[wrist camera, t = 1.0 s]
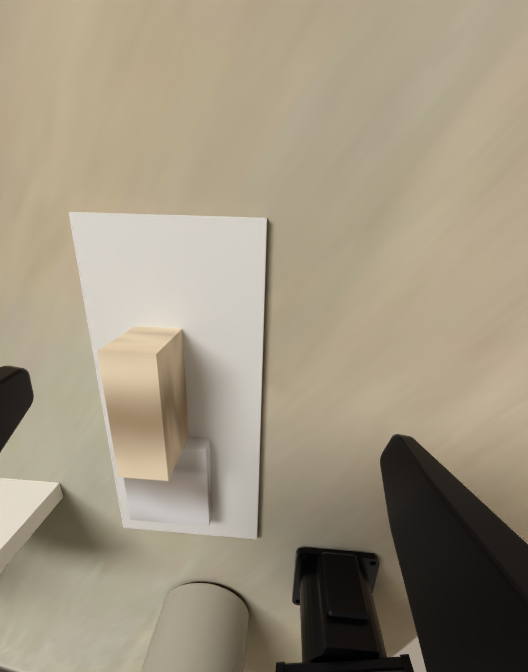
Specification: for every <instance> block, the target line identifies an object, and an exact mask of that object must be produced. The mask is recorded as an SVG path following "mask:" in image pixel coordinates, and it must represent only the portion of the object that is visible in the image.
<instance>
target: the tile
mask: <svg viewBox="0 0 528 672" xmlns="http://www.w3.org/2000/svg"><path fill="white" fill-rule="evenodd" d="M62 498H63V495H62V491H61V487H60V483H55V482H42V481H30V480H18V479H5V478H0V573H1V572H2V571H3V569H4V568H5V567H6V566H7V565H8V563H9V562H10V561H11V560H12V558H13V557H14V556H15V555H16V554H17V552H18V551H19V550H20V549H21V548H22V546H23V545H24V544H25V543H26V542H27V540H28V539H29V538H30V537H31V535H32V534H33V533H34V532H35V531H36V529H37V528H38V527H39V526H40V525H41V523H42V522H43V521H44V520H45V519H46V517H47V516H48V515H49V514H50V512H51V511H52V510H53V509H54V508H55V506H56V505H57V504H58V503H59V502H60V500H61V499H62Z"/></svg>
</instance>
